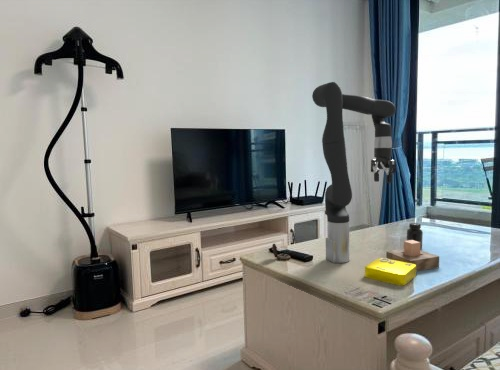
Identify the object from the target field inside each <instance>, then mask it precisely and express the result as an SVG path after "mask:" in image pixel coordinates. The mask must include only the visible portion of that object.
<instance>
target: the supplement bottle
mask: <svg viewBox="0 0 500 370" xmlns="http://www.w3.org/2000/svg"><path fill="white" fill-rule="evenodd" d="M421 225H422V224H421V223H418V222H410V223H409V227H408V229H407V230H406V241H408V240H414V241H417V242H420V250H423V235H424V232H423V230H422V229H421V228H422V226H421Z"/></svg>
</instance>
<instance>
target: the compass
mask: <svg viewBox="0 0 500 370" xmlns="http://www.w3.org/2000/svg"><path fill="white" fill-rule="evenodd" d="M271 248H272V252H273V256H274V258H276V259H277V260H278V261H282V260H285V261H290V260H291V257H292V256H290V255H289V254H287V253H279V254H278V248H277V244H276V243H273V244H272V247H271Z"/></svg>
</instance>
